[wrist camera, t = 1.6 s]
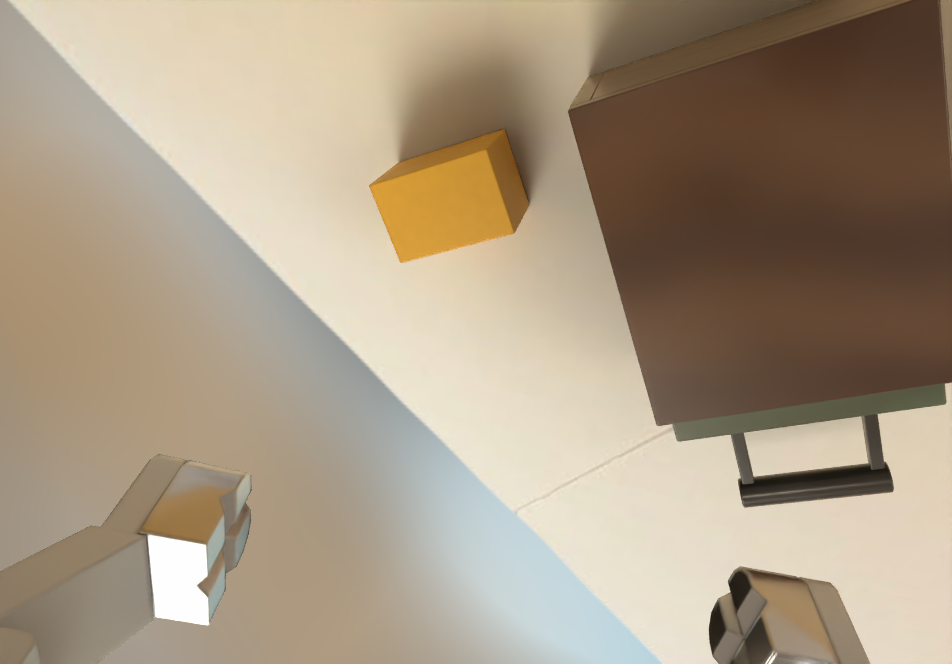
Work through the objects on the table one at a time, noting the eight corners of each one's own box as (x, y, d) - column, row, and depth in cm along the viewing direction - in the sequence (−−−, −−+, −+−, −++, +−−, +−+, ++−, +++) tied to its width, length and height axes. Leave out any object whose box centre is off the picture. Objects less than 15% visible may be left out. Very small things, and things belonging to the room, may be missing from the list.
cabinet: (903, 291, 36) (968, 380, 29) (657, 339, 41) (656, 427, 33) (869, -17, 30) (940, -9, 23) (587, 77, 35) (567, 110, 27)
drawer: (909, 421, 38) (956, 507, 32) (695, 449, 42) (701, 531, 36) (867, 56, 31) (918, 80, 25) (612, 132, 35) (602, 169, 29)
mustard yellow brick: (504, 128, 37) (486, 148, 33) (529, 205, 39) (514, 233, 35) (397, 162, 39) (368, 185, 35) (425, 234, 41) (400, 263, 37)
